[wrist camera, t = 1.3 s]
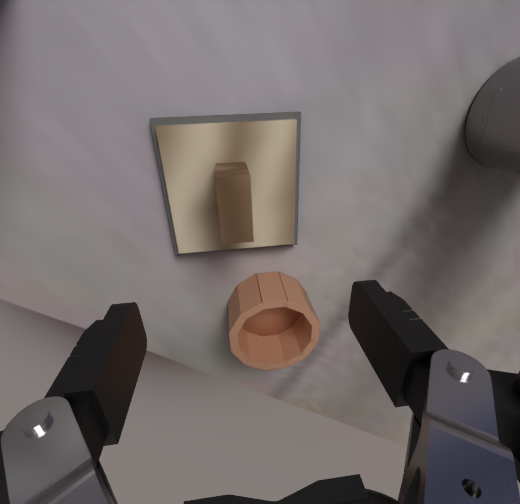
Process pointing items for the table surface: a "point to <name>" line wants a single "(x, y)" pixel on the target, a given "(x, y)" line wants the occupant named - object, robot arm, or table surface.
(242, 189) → the lid
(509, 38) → the table surface
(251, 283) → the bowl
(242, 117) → the mat
